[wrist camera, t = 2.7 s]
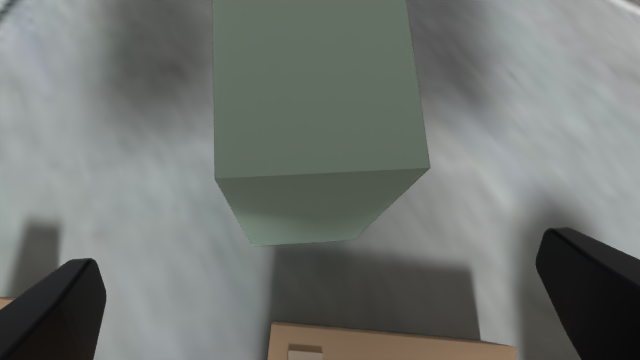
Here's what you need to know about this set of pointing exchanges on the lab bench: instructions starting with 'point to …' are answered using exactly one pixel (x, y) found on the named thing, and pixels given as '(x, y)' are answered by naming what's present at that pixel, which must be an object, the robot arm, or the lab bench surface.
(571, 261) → the robot arm
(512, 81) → the lab bench surface
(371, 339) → the slot rack
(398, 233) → the lab bench surface
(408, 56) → the sage block
